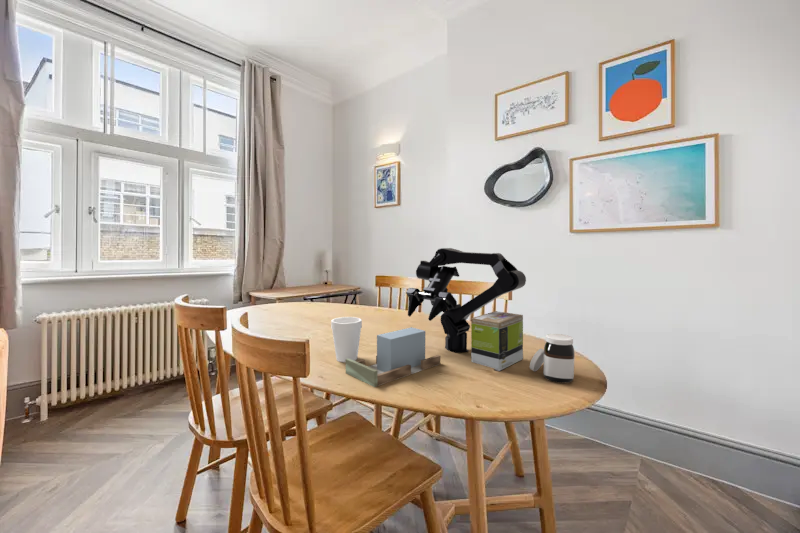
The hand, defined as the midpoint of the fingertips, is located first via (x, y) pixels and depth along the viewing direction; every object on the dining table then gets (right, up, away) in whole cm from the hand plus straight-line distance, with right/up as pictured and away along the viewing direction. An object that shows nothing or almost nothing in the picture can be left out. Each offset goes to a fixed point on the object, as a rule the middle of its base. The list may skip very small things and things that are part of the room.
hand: (418, 317), depth 117 cm
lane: (-7, -13, -13) cm, 20 cm away
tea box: (+24, -13, -5) cm, 28 cm away
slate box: (-6, -13, -11) cm, 18 cm away
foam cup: (-23, -13, -5) cm, 27 cm away
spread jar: (+36, -14, -17) cm, 42 cm away
